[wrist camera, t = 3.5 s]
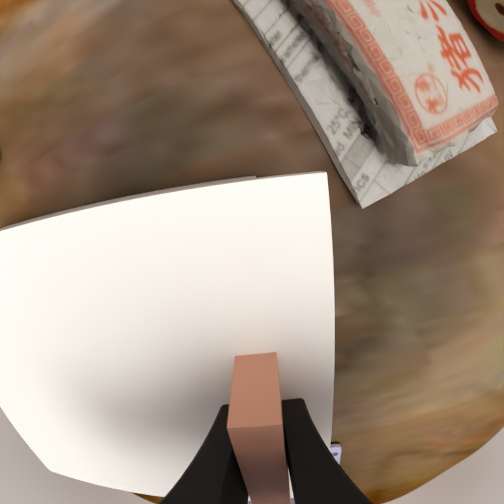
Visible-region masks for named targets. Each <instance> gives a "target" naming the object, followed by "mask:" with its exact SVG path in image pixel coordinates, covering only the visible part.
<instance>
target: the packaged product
mask: <svg viewBox="0 0 504 504" xmlns="http://www.w3.org/2000/svg"><path fill="white" fill-rule="evenodd" d="M232 1H233V2H234V3H235V5H236V6H237V7H238V8H239V10H240V11H241V12H242V14H243V15H244V17H245V18H246V20H247V21H248V22H249V24H250V25H251V27H252V28H253V30H254V31H255V33H256V34H257V36H258V37H259V39H260V40H261V42H262V43H263V45H264V47H265V48H266V50H267V51H268V53H269V55H270V56H271V58H272V59H273V61H274V62H275V64H276V65H277V67H278V68H279V70H280V72H281V73H282V75H283V76H284V78H285V80H286V81H287V83H288V84H289V86H290V87H291V89H292V91H293V92H294V94H295V96H296V97H297V99H298V101H299V103H300V104H301V106H302V108H303V109H304V111H305V113H306V114H307V116H308V118H309V120H310V121H311V123H312V125H313V126H314V128H315V130H316V132H317V133H318V135H319V137H320V139H321V141H322V142H323V144H324V146H325V148H326V150H327V152H328V153H329V155H330V157H331V159H332V161H333V163H334V165H335V167H336V168H337V170H338V172H339V174H340V176H341V177H342V179H343V181H344V182H345V184H346V185H347V187H348V189H349V190H350V192H351V194H352V195H353V197H354V198H355V200H356V202H357V203H358V204H359V205H360V207H361V208H362V209H363V208H365V207H366V206H368V205H370V204H372V203H374V202H376V201H378V200H380V199H382V198H384V197H386V196H387V195H389V194H391V193H392V192H394V191H395V190H397V189H399V188H400V187H402V186H404V185H406V184H408V183H410V182H412V181H414V180H415V179H417V178H419V177H420V176H422V175H424V174H425V173H427V172H429V171H430V170H432V169H433V168H435V167H437V166H438V165H440V164H442V163H444V162H446V161H447V160H449V159H451V158H453V157H454V156H456V155H458V154H460V153H461V152H463V151H465V150H467V149H469V148H471V147H472V146H474V145H476V144H477V143H479V142H481V141H482V140H484V139H486V137H488V136H490V135H492V134H494V133H496V132H498V131H497V129H496V127H495V125H494V122H493V120H492V118H491V116H492V115H493V114H494V112H495V111H496V109H497V107H498V106H499V103H498V100H497V97H496V95H495V92H494V89H493V86H492V84H491V82H490V79H489V77H488V75H487V73H486V70H485V68H484V66H483V64H482V62H481V60H480V58H479V56H478V54H477V52H476V50H475V48H474V46H473V44H472V42H471V40H470V38H469V36H468V35H467V33H466V31H465V29H464V27H463V26H462V24H461V22H460V21H459V19H458V18H457V16H456V15H455V13H454V11H453V10H452V8H451V7H450V5H449V4H448V2H447V1H446V0H232Z"/></svg>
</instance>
